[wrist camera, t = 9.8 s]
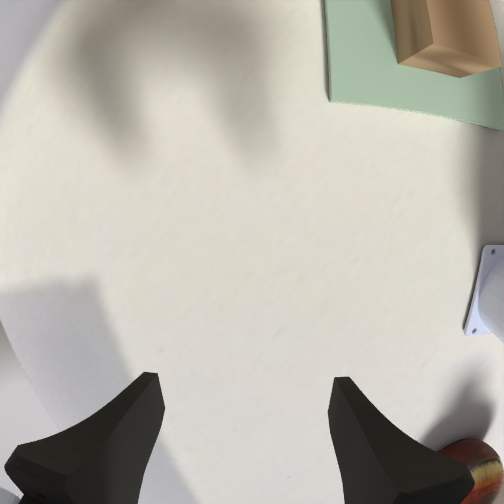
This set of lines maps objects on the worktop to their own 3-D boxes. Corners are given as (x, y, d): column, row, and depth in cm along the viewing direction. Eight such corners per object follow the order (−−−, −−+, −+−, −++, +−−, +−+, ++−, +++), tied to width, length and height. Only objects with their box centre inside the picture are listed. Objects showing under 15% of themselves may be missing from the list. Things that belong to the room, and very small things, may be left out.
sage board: (483, 7, 15) (488, 4, 14) (499, 130, 18) (505, 130, 17) (320, -36, 15) (322, -41, 14) (329, 102, 18) (331, 100, 17)
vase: (489, 448, 29) (529, 525, 14) (422, 490, 31) (449, 572, 16) (479, 415, 26) (535, 510, 11) (399, 466, 28) (432, 570, 14)
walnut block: (451, 17, 15) (487, -5, 10) (459, 78, 16) (502, 66, 11) (390, 1, 15) (419, -30, 10) (397, 64, 16) (433, 43, 12)
